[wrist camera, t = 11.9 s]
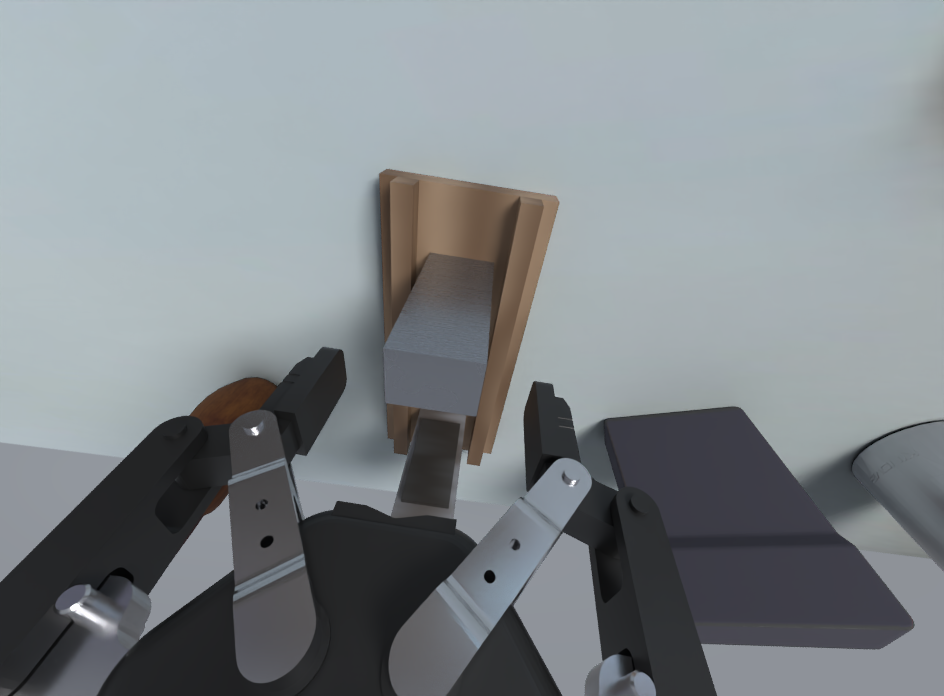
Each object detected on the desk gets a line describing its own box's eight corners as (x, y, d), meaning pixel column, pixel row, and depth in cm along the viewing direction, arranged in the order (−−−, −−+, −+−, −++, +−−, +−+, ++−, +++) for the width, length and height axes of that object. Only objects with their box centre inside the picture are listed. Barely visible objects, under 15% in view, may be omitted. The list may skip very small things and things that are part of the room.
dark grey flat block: (603, 444, 32) (661, 647, 20) (602, 413, 30) (668, 623, 18) (731, 433, 30) (881, 654, 18) (741, 400, 28) (923, 629, 16)
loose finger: (494, 262, 21) (486, 364, 13) (485, 309, 23) (475, 422, 15) (430, 252, 21) (383, 348, 13) (427, 300, 23) (385, 409, 15)
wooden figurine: (309, 417, 33) (199, 594, 21) (256, 418, 34) (121, 589, 22) (279, 364, 30) (123, 546, 18) (220, 366, 30) (32, 542, 18)
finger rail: (556, 196, 20) (601, 280, 10) (491, 440, 33) (486, 570, 24) (387, 168, 19) (280, 230, 10) (392, 426, 33) (348, 550, 24)
